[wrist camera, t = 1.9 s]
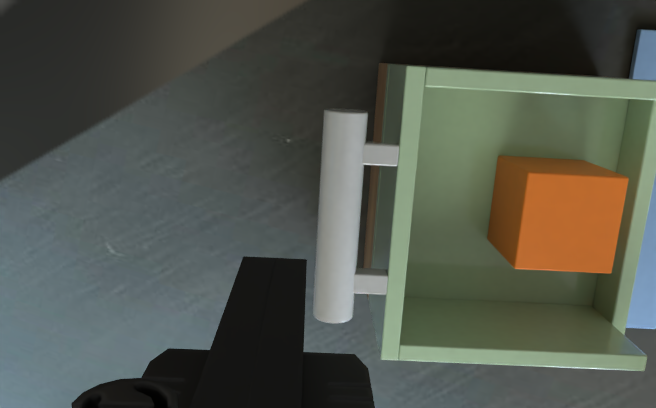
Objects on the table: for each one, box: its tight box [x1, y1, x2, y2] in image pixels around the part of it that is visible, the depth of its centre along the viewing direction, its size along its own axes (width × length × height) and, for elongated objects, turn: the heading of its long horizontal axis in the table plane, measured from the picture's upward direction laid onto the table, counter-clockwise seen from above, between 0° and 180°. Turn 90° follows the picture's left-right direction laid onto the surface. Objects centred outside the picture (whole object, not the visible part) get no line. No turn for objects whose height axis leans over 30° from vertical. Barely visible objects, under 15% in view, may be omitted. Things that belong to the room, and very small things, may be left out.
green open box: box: [312, 64, 656, 371], centre depth 25 cm, size 14×11×6 cm
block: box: [487, 155, 629, 274], centre depth 25 cm, size 4×4×4 cm
